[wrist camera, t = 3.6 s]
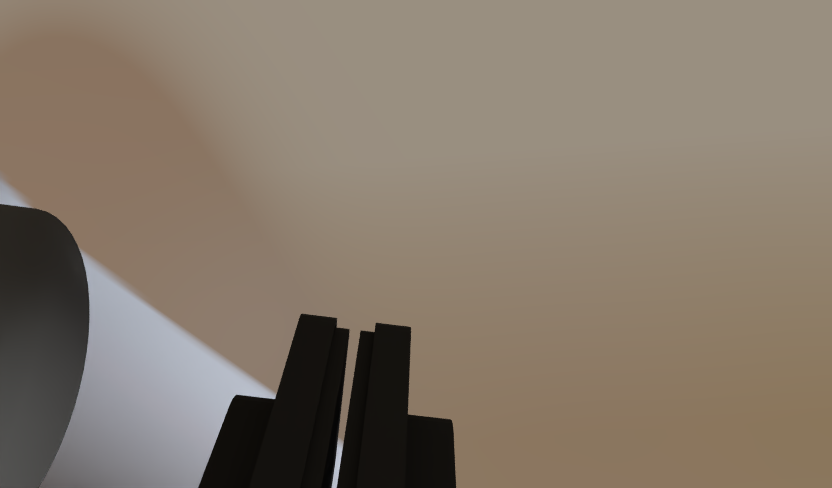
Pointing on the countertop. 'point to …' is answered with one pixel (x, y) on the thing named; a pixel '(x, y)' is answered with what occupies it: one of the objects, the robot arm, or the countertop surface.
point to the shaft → (38, 340)
